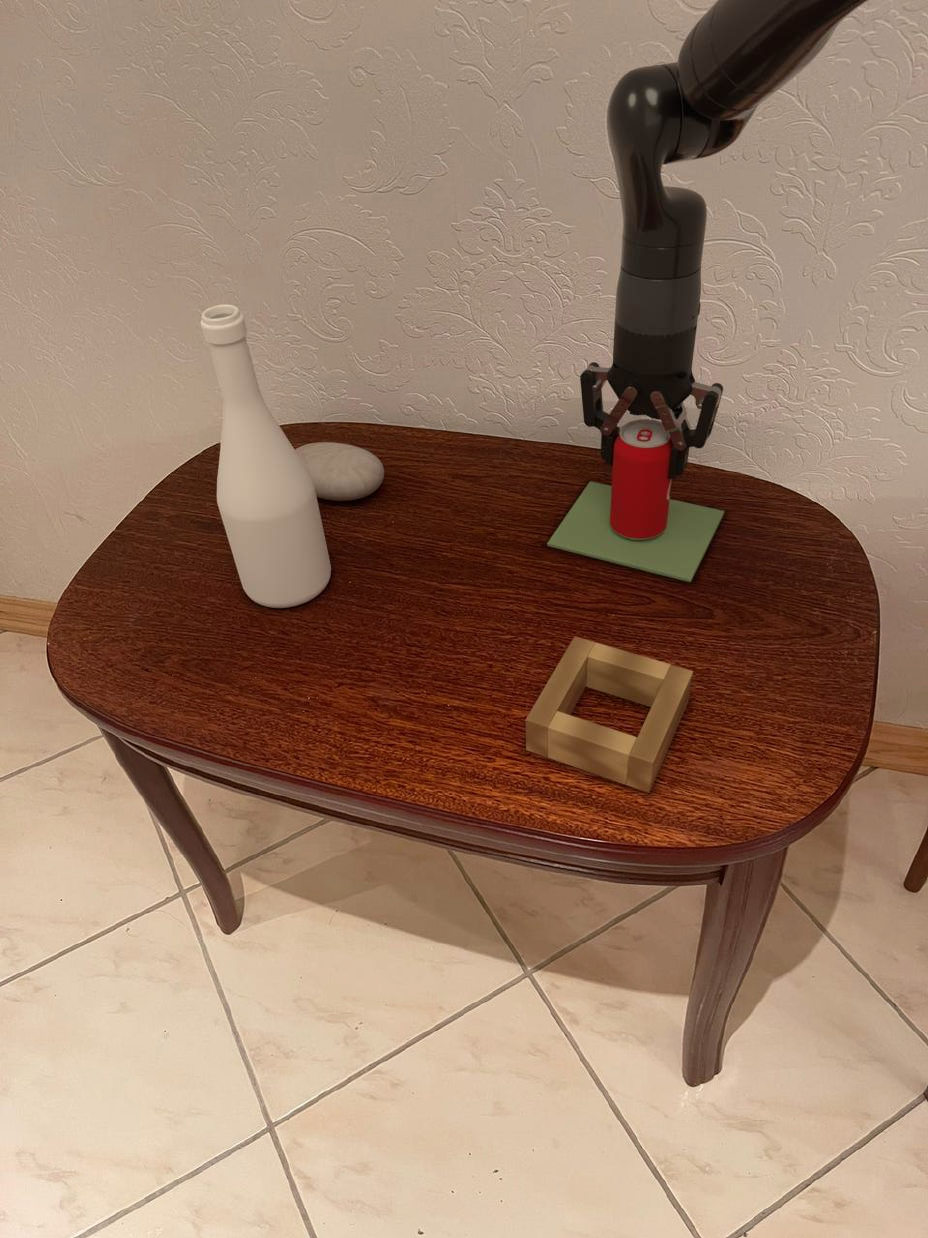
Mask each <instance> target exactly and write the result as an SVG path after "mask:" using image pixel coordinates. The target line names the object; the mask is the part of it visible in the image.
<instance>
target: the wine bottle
mask: <svg viewBox="0 0 928 1238" xmlns="http://www.w3.org/2000/svg"><path fill="white" fill-rule="evenodd" d="M200 327H201V331H202V335H203V338H204V341H205V342H206V343H208V345H209V349H210V350H209V351H210V354H211V359H212V363H213V367H214V371H215V375H216V380H217V383H218V387H219V391H220V396H221V400H222V423H221V436H220V437H221V438H220V448H219V449H220V450H219V458H218V466H217V467H218V469H217V476H216V503H217V507H218V510H219V514H220V517H221V520H222V524H223V527H224V530H225V533H226V537H227V541H228V543H229V547H230V550H231V553H232V556H233V560H234V563H235V567H236V570H237V574H238V576H239V580H240V583H241V586H242V590H243V591H244V593H245V594H246V595H247V597H248V598H249V599H251V600H252V602H254V603H256V604H258V605H260V606H264V607H267V608H273V609H287V608H291V607H298V606H300V605H303V604H306V603H308V602H309V601H311V600H313V599H315V598H316V597H318V596H319V595H320V594H321V593H322V592H323V591H324V590H325V589H326V587H327V586H328V583H329V582H330V580H331V575H332V574H331V572H332V565H331V561H330V556H329V555H330V554H329V549H328V545H327V541H326V537H325V532H324V527H323V521H322V517H321V512H320V508H319V507H320V506H319V503H318V497H316V492H315V487H314V483H313V480H312V478H311V476H310V474H309V472H308V470H307V468H306V467H305V465H304V463H303V461H302V460H301V458H300V457H299V455H298V454H297V452H296V451H295V449H296V448H294V446H293V445H292V443H291V442H290V439H288V437H287V436H286V434H285V433H284V431H283V429H282V427H281V426H280V424H279V423H278V421H277V420H276V419H275V417H274V415H273V413H272V412H271V411H270V409H269V407H268V406H267V403H266V402H265V399H264V397H263V395H262V393H261V390H260V387H259V382H258V379H257V375H256V371H255V367H254V363H253V360H252V355H251V351H250V348H249V344H248V341H247V338H246V336H247V334H248V329H247V325H246V321H245V316H244V314H243V313H242V312H241V311H240V309H239V307H237V306H236V305H233V304H217V305H213V306H211V307H208V308H206V309H205V310H204V311H202V313H201V320H200Z"/></svg>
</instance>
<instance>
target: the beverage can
mask: <svg viewBox="0 0 928 1238" xmlns="http://www.w3.org/2000/svg"><path fill="white" fill-rule="evenodd" d="M673 446H674V444H673V442H672V440H671V437H670V435H669V433H668V432H666V431H665V429H664V426H663V424H662V422H661V421H660V420H657V419H648V418H642V419H635V420H631V421H628V422H626V423H624V424H623V425H622V426H621V427H620V433H619V435H618V437H617V438H616V440H615V443H614V452H613V466H612V471H611V486H612V488H611V506H610V525H611V527H612V529H613V530H614V531H615V532H617V533H618V534H620V535H621V536H623V537H626V538H629V539H633V540H645V539H649V538H653V537H655V536H657V535H659V534H661V533H662V532H663V531H664V530H665V528H666V526H667V520H668V511H669V501H670V499H671V492H672V483H673V480H672V479H668V475H669V465H670V456H671V449H672V447H673Z"/></svg>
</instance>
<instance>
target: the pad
mask: <svg viewBox="0 0 928 1238" xmlns="http://www.w3.org/2000/svg"><path fill="white" fill-rule="evenodd" d="M611 488H612V485H609V484H604V483H600V482H596V481H591V480H590V481H589V482H588V484H587V485H586V487H585V488H584V489H583V490H582V492H581V494H580V495H579V497H578V498H577V499H576V501H575V502H574V504H573V505H572V507H571V508H570V510H569V511H568V512H567V514H565V517H564V518H563V520H562V521H561V523H560V524H559V525H558V527H557V528H556V530H555V531H554V533H553V534H552V536H551V537H550V539H549V540H548V541H547V543H546V546H547V547H549V548H550V547H551V548H553V549H558V550H562V551H565V552H569V553H572V554H573V553H574V554H577V555H582V556H585V557H590V558H593V559H597V560H600V561H605V562H608V563H612V564H617V565H620V566H623V567H628V568H632V569H636V570H640V571H644V572H647V573H652V574H655V575H659V576H662V577H663V576H664V577H667V578H672V579H675V580H679V581H683V582H686V583H687V582H688V583H691V582H692V581H693V579H694V576H695V575H696V572H697V571H698V569H699V567H700V565H701V562H702V560H703V558H704V557H705V555H706V552H707V550H708V549H709V546H710V544H711V542H712V540H713V538H714V535H715V534H716V532H717V529H718V528H719V526H720V523H721V521H722V519H723V517H724V515H725V510H722V509H717V508H712V507H709V506H704V505H699V504H694V503H690V502H685V501H682V500H681V501H680V500H676V499H672V498H670V501H669V511H668V520H667V526H666V528H665V530H664V531H663V532H662V533H661V534H659V535H657V536H655V537H653V538H649V539H645V540H633V539H629V538H626V537H623V536H621V535H620V534H618V533H617V532H615V531H614V530H613V529H612V527H611V525H610V506H611Z"/></svg>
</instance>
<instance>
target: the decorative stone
mask: <svg viewBox="0 0 928 1238" xmlns="http://www.w3.org/2000/svg"><path fill="white" fill-rule="evenodd" d="M294 449H295V451H296V452H297V454H298V455H299V457H300V458H301V460H302V461H303V463H304V465H305V467H306V468H307V470H308V472H309V474H310V476H311V478H312V480H313V483H314V487H315V492H316V497H317V499H322V500H327V501H337V502H339V501H340V502H348V501H355V500H356V501H357V500H358V499H363V498H365V497H368V496H370V495H371V494H373V493H375V492H376V491H377V490H378V489H379V487H381V485H382V483H383V482H384V478H385V468H384V464H383V463H382V461H381V460H380V458H378V456H377V455H375V454H373V453H372V452H370V451H369V450H366V449H364V448H362V447H359V446H356V445H352V444H348V443H341V442H333V441H332V442H331V441H329V442H328V441H322V442H312V443H311V442H310V443H307V444H304V445H301V446H299V447H296V448H294Z"/></svg>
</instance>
